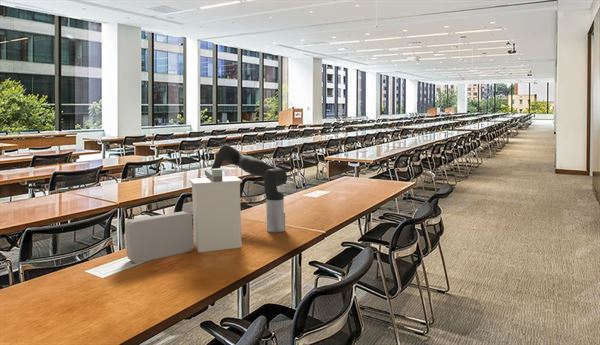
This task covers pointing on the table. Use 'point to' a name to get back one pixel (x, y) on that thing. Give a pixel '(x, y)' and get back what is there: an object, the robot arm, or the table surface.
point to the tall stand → (216, 213)
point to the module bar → (214, 174)
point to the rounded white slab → (158, 236)
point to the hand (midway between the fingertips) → (207, 179)
